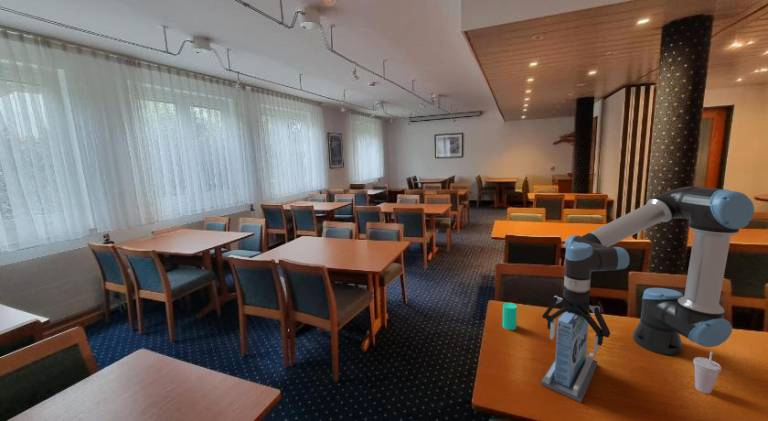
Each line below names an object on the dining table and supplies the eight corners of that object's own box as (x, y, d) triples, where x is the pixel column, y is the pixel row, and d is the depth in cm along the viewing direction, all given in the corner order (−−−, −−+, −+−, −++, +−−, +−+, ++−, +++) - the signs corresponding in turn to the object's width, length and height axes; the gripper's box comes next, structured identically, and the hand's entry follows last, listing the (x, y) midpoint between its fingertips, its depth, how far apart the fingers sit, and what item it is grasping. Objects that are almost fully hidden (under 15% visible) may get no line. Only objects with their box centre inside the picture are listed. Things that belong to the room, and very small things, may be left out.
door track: (597, 364, 117) (598, 355, 116) (581, 402, 100) (582, 391, 100) (561, 351, 125) (562, 342, 125) (541, 384, 108) (541, 374, 108)
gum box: (569, 388, 104) (573, 325, 100) (552, 381, 108) (556, 319, 104) (586, 360, 117) (591, 304, 113) (571, 354, 121) (575, 299, 117)
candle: (517, 330, 141) (518, 305, 139) (503, 329, 142) (504, 305, 140) (514, 323, 147) (515, 299, 145) (501, 322, 148) (502, 299, 146)
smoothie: (720, 399, 99) (727, 359, 97) (692, 392, 103) (698, 353, 100) (713, 386, 105) (719, 348, 102) (687, 379, 108) (692, 343, 105)
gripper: (534, 282, 113) (532, 336, 117) (620, 302, 96) (614, 365, 100) (541, 276, 118) (539, 327, 122) (623, 294, 101) (618, 353, 105)
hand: (573, 344), depth 111 cm, fingers open, 13 cm apart
